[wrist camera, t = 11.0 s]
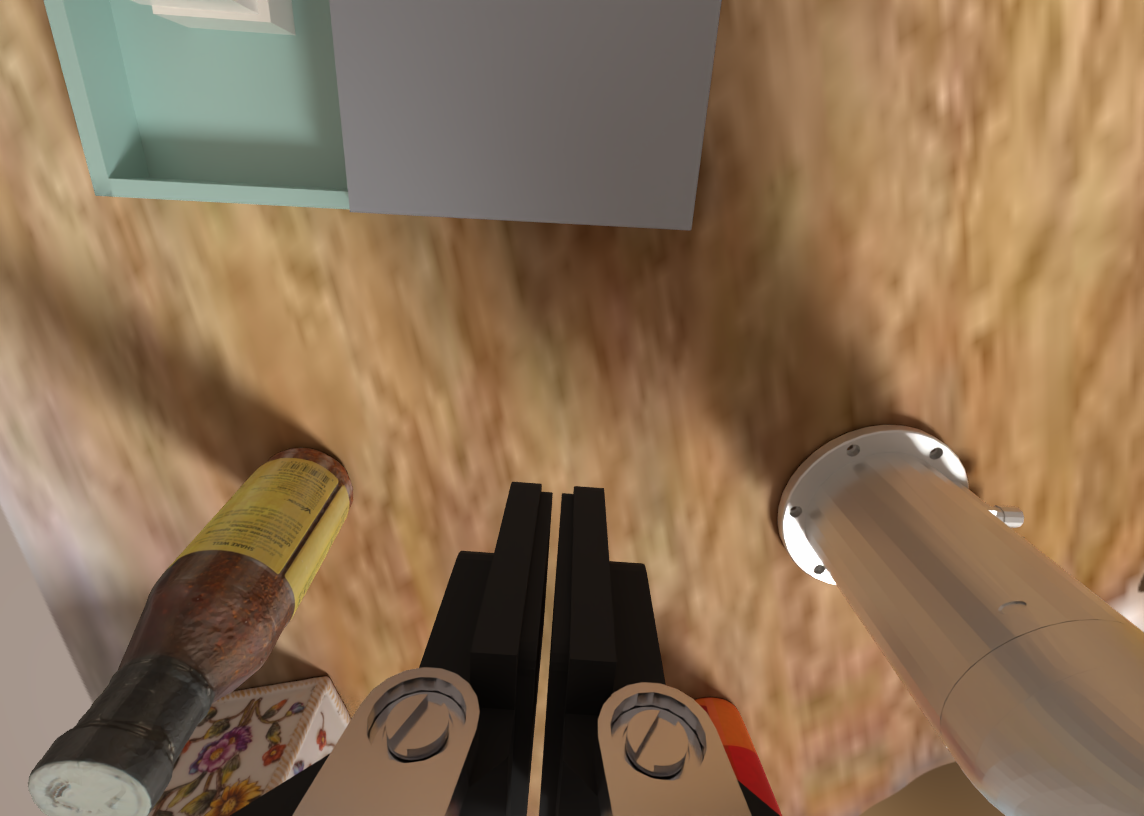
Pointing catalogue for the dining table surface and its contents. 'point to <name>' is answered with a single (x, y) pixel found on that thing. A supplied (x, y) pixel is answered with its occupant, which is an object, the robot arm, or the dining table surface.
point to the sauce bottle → (199, 637)
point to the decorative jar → (253, 746)
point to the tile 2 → (236, 18)
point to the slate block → (525, 108)
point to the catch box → (203, 106)
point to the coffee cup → (739, 748)
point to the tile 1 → (207, 5)
